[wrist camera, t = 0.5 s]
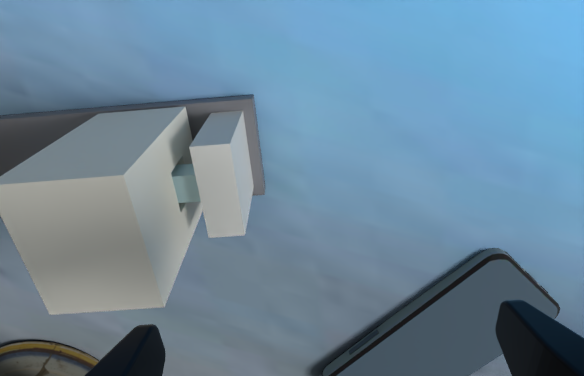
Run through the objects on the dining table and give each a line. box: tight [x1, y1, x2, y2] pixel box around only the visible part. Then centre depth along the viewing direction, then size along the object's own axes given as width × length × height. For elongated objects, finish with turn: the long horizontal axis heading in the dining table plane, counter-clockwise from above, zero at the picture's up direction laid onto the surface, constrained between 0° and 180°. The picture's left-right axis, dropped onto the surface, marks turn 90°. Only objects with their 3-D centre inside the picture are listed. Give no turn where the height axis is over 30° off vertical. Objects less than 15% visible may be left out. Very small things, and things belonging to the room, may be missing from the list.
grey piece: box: [0, 95, 265, 238], centre depth 17 cm, size 5×18×5 cm, turn 95°
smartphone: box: [323, 248, 560, 376], centre depth 26 cm, size 8×2×15 cm
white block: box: [0, 107, 203, 315], centre depth 15 cm, size 5×4×7 cm
